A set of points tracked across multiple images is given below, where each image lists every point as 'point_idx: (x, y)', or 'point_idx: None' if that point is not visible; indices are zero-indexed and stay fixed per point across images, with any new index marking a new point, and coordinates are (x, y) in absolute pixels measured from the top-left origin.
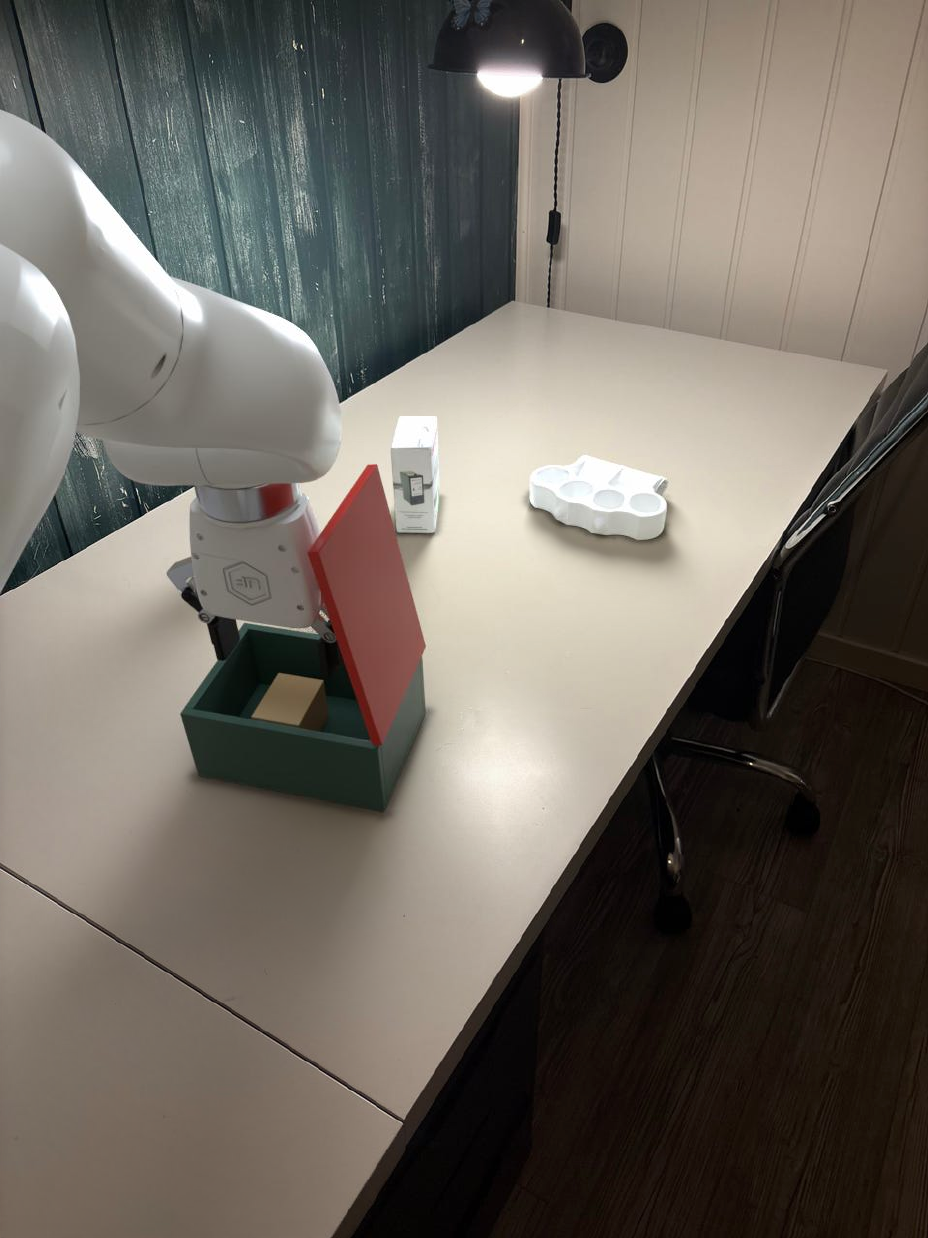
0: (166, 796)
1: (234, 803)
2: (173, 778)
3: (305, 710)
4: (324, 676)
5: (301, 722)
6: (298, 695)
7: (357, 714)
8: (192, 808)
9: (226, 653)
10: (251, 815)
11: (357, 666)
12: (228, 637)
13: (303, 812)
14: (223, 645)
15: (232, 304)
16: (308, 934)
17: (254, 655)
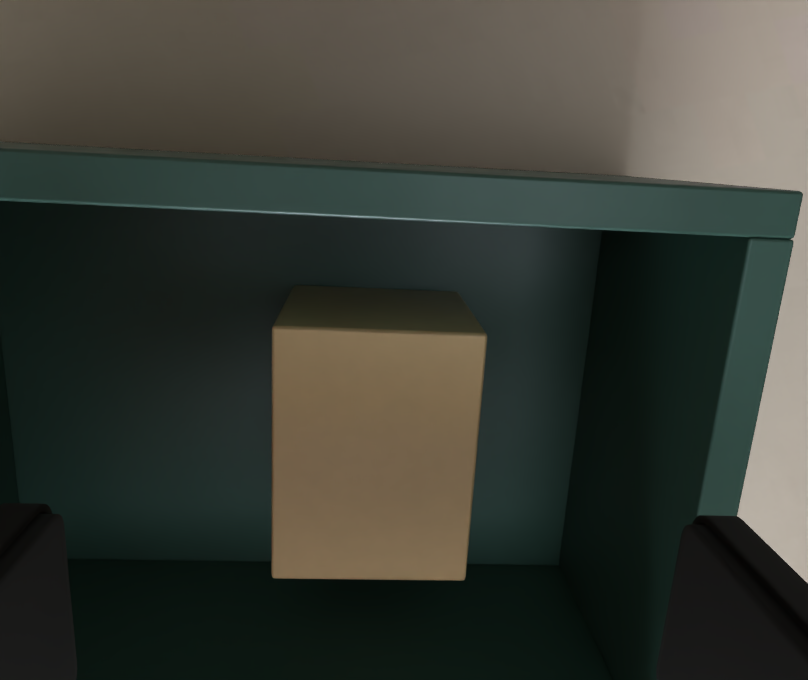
0: (700, 72)
1: (470, 85)
2: (702, 151)
3: (277, 412)
4: (30, 507)
5: (272, 350)
6: (338, 483)
7: (202, 506)
8: (598, 37)
9: (697, 561)
10: (396, 45)
11: None
12: (727, 669)
13: (231, 90)
14: (738, 599)
15: None
16: None
17: (595, 649)
